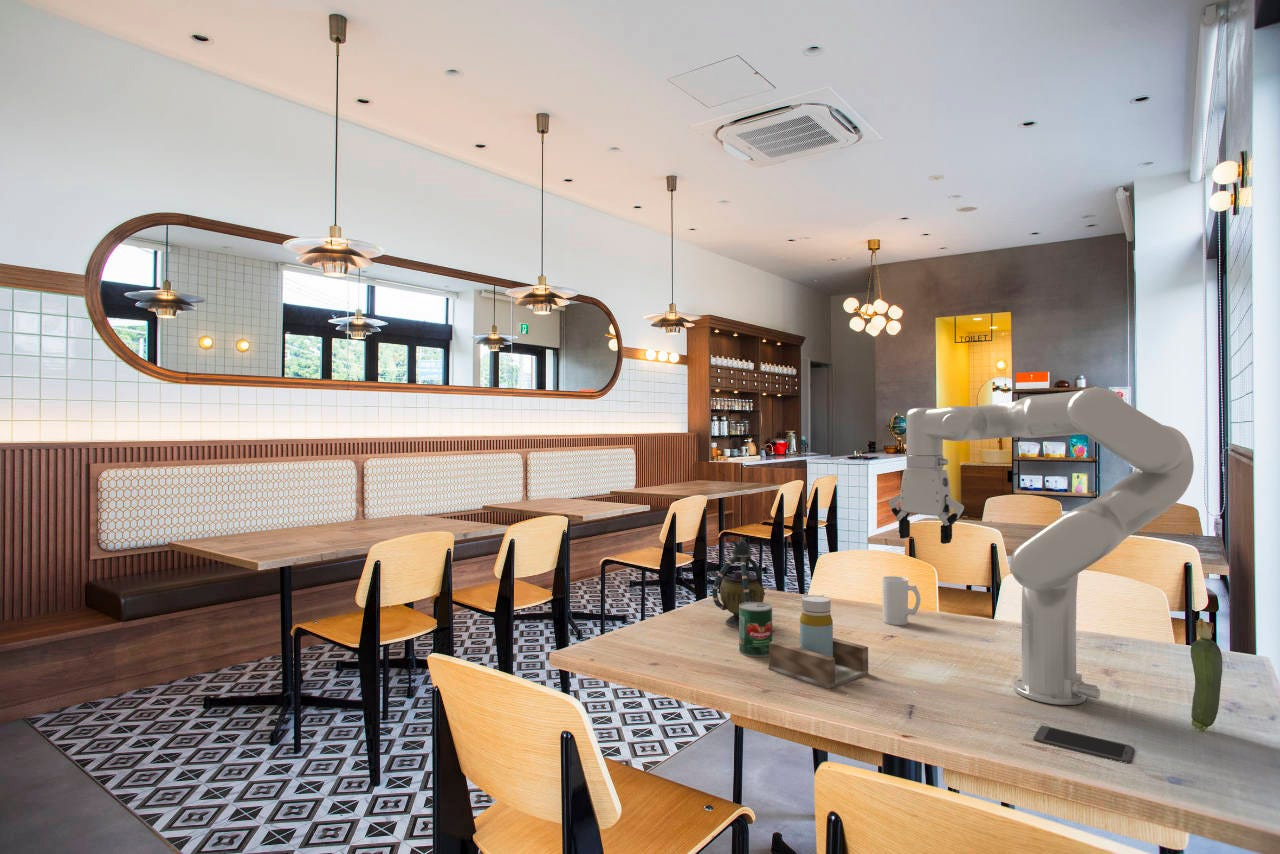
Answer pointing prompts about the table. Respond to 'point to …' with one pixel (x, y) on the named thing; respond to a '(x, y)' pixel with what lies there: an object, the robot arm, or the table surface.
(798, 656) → the u rest
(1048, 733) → the cell phone
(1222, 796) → the table surface
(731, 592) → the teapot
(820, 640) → the bottle
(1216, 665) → the vegetable
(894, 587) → the mug
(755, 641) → the canned tomato
